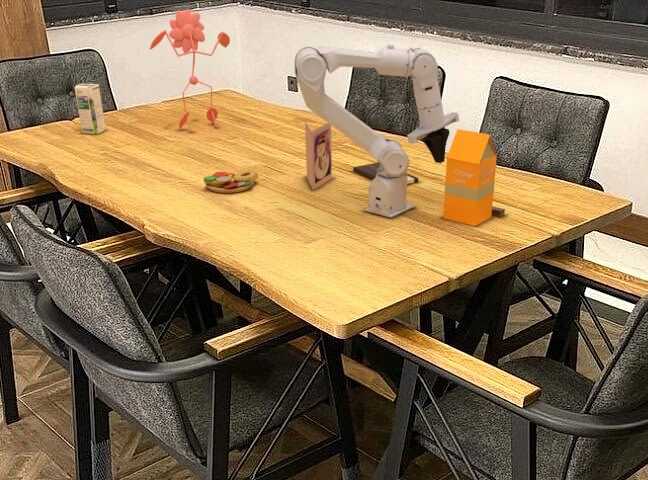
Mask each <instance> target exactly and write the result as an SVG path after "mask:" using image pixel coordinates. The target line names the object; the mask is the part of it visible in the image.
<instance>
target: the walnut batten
mask: <svg viewBox="0 0 648 480" xmlns="http://www.w3.org/2000/svg"><path fill="white" fill-rule="evenodd" d="M505 212H506V209H505V208H502V207H498V206H493V205H492V215H491V216H493V217H497V218H502V217H504V216H505Z"/></svg>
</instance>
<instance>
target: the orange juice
mask: <svg viewBox="0 0 648 480" xmlns="http://www.w3.org/2000/svg"><path fill="white" fill-rule="evenodd" d="M448 150H449V151H448V153H447V155H446V165H445V169H446V170H445V180H444V181H445V182H444V200H443V215H442V216H443V219H445V220H449V221H452V222H458V223H461V224H465V225H469V226H474V227H476V226H478V225H479V224H481V223H483V222H485V221H487V220H489V219H492V216H493V215H492V206H493V203H494V193H495V183H496V182H495V181H496V169H497V157H498V156H497V153H496V150H495V146H494V144H493V141H492V137H491V134H488V133H482V132H476V131H471V130H465V129H461V128H456V132H455V135H454V137H453V139H452V142H451V145H450V148H449V149H448Z"/></svg>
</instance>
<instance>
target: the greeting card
mask: <svg viewBox="0 0 648 480" xmlns="http://www.w3.org/2000/svg"><path fill="white" fill-rule="evenodd" d="M304 126H305V127H304V130H305V132H304V133H305V134H304V135H305V161H306V165H305V167H306V179H307V181H308V183H309V184H310V187H311V190H313V191H315V190H316V189H318V188H320V187H321V186H322V185H324V184H325V183H327V182H328V181H330V180H331V179H332V178H333V158H332V155H333V153H332V151H333V150H332V125H330V124H329V123H328V122H326V123H324V124H322V125H320V126H319V127H317V128H315V129H313V130H311V128H310V126H309V124H308V123H307V121H306V120H304Z"/></svg>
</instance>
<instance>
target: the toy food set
mask: <svg viewBox="0 0 648 480" xmlns="http://www.w3.org/2000/svg"><path fill="white" fill-rule="evenodd" d="M258 178H259V174H258V172H257V171H256V170H254V169H245V170H241V171H239V172H237V173H236V174H235V173H233V172H232V173H231V172H229V173H228V172H226V171H216V172H215V173H213V174H211V175H208V176H205V177H203V183H204V185H205V186H206V187H207V188H208V189H209V190H210V191H212V192H214V193H221V194H235V193H240V192H245V191H247V190H249V189H251V187H252V186H253V185H254V184H255V181H256V180H257V179H258Z"/></svg>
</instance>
